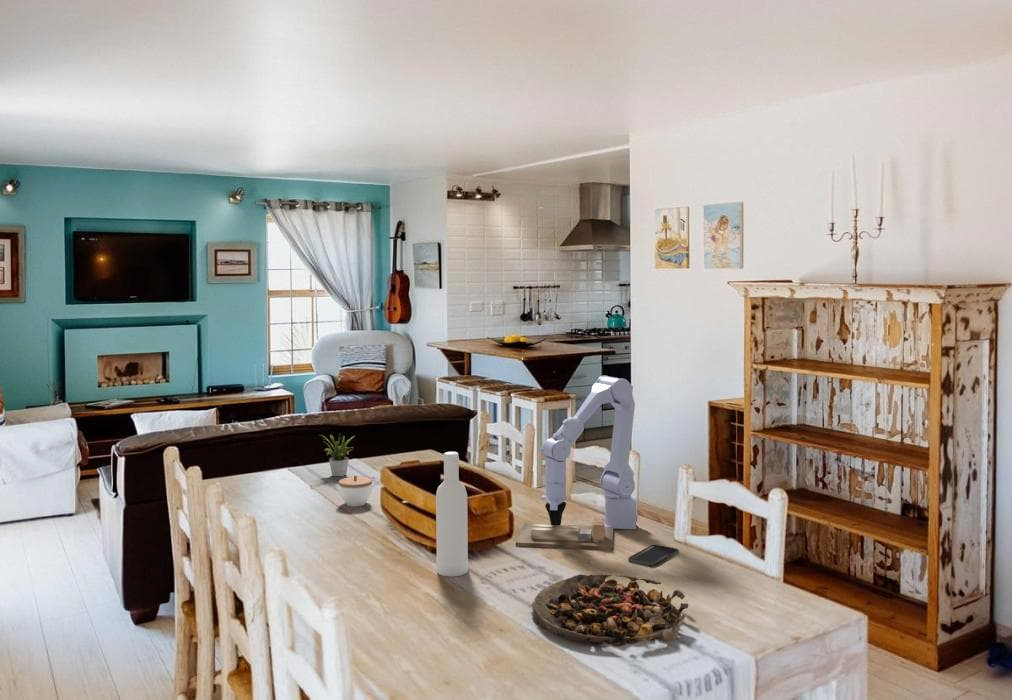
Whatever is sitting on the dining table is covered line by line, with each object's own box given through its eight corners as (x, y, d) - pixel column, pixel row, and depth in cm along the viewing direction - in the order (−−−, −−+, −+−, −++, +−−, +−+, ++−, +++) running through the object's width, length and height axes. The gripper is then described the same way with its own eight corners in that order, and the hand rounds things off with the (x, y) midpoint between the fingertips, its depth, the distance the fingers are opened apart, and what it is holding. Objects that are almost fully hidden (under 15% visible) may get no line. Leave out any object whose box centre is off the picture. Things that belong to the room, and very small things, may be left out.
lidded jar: (379, 502, 280) (379, 474, 279) (357, 510, 271) (356, 481, 270) (354, 498, 285) (354, 470, 284) (332, 505, 276) (331, 476, 275)
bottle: (429, 571, 214) (428, 453, 212) (452, 563, 220) (451, 448, 217) (451, 579, 209) (450, 457, 206) (474, 571, 215) (473, 452, 212)
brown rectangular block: (604, 534, 240) (604, 518, 239) (603, 541, 233) (604, 525, 233) (593, 534, 240) (593, 518, 240) (592, 541, 234) (592, 524, 233)
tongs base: (613, 530, 248) (613, 518, 248) (611, 550, 230) (611, 536, 230) (523, 526, 252) (523, 514, 252) (515, 546, 234) (515, 533, 234)
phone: (626, 558, 221) (653, 543, 233) (626, 562, 221) (653, 547, 233) (654, 564, 217) (680, 549, 228) (654, 569, 217) (680, 553, 229)
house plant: (309, 479, 312) (308, 434, 310) (324, 470, 325) (323, 428, 324) (347, 480, 309) (346, 435, 308) (360, 472, 323) (359, 429, 321)
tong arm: (579, 534, 240) (579, 526, 240) (578, 537, 238) (578, 528, 238) (533, 532, 243) (533, 523, 242) (532, 534, 241) (532, 525, 241)
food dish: (721, 630, 182) (722, 595, 181) (603, 675, 163) (604, 636, 162) (609, 577, 210) (609, 547, 209) (498, 611, 191) (498, 577, 190)
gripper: (544, 474, 249) (544, 520, 250) (539, 487, 235) (539, 535, 236) (568, 475, 248) (568, 521, 249) (564, 487, 234) (564, 536, 235)
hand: (555, 528), depth 243 cm, fingers closed
